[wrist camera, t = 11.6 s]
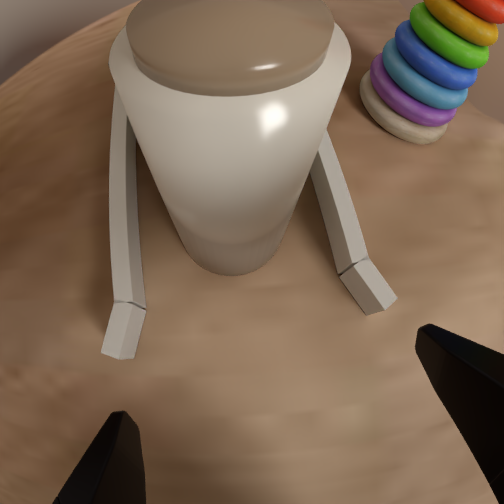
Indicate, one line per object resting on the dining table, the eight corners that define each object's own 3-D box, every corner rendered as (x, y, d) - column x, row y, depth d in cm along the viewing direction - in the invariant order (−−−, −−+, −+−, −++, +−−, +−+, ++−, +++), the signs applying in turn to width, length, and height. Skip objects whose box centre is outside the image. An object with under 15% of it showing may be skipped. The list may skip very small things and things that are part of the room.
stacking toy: (377, 149, 21) (504, -77, 3) (343, 74, 24) (408, -120, 6) (454, 149, 22) (582, -9, 4) (417, 80, 24) (499, -73, 6)
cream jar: (262, 291, 18) (334, 132, 5) (164, 253, 18) (50, 69, 5) (295, 199, 20) (370, -4, 7) (204, 168, 20) (180, -40, 7)
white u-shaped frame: (380, 312, 18) (418, 299, 14) (119, 360, 16) (84, 361, 12) (300, 72, 23) (310, 30, 19) (111, 98, 22) (95, 58, 17)
